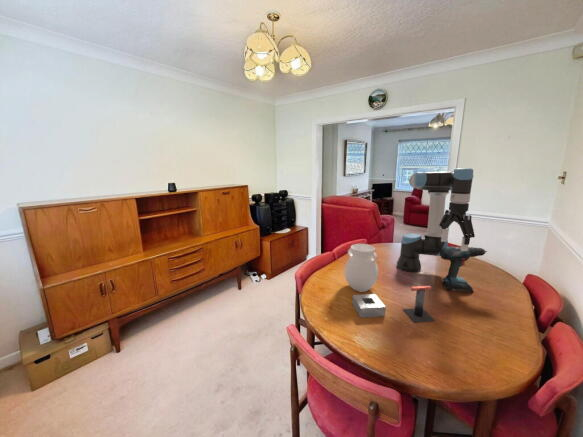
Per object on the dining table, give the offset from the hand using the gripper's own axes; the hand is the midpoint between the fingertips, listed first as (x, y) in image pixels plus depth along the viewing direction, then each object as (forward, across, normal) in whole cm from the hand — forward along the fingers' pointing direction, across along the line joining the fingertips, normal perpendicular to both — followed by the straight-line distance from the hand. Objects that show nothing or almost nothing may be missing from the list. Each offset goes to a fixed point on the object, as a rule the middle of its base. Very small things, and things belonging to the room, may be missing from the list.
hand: (453, 245), depth 119 cm
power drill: (+32, -15, +18) cm, 40 cm away
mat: (+31, +7, -19) cm, 37 cm away
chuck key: (+31, +7, -19) cm, 37 cm away
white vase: (+32, -22, -37) cm, 53 cm away
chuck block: (+31, 0, -41) cm, 51 cm away
